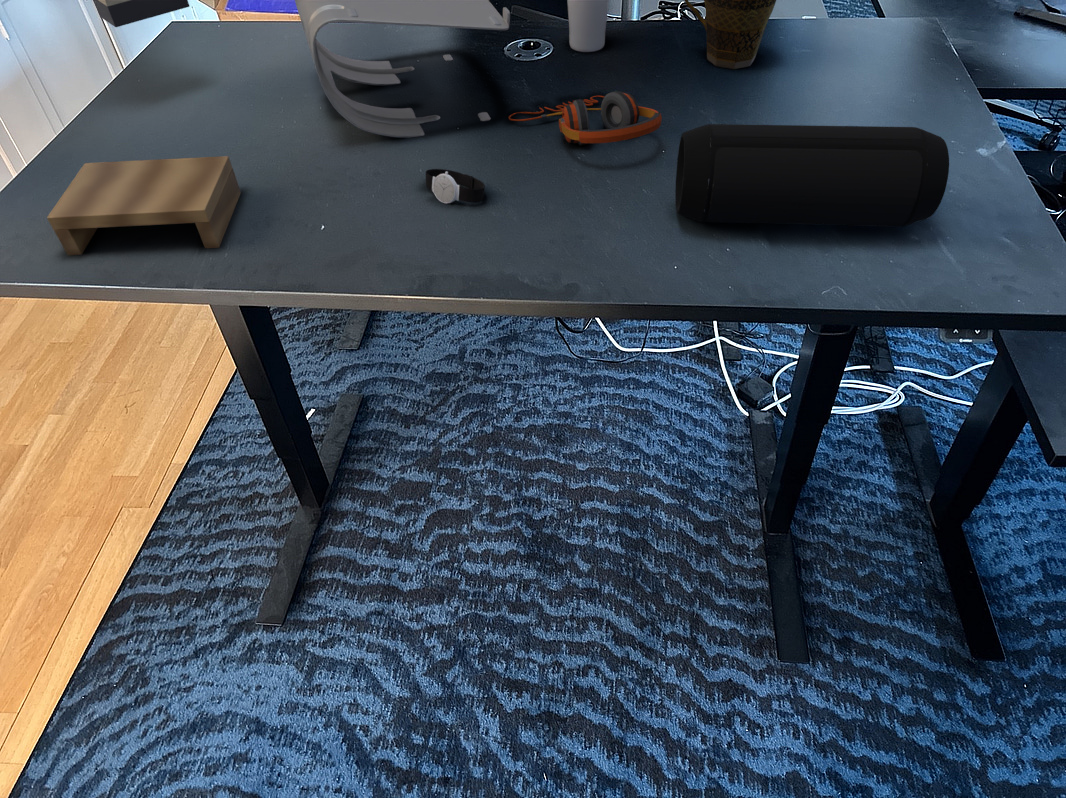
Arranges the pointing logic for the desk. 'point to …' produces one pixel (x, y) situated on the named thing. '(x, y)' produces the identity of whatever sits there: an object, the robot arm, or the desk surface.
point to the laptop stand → (386, 3)
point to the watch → (454, 186)
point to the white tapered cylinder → (587, 24)
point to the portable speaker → (810, 174)
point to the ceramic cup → (734, 30)
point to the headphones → (616, 116)
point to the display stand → (147, 198)
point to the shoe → (135, 9)
